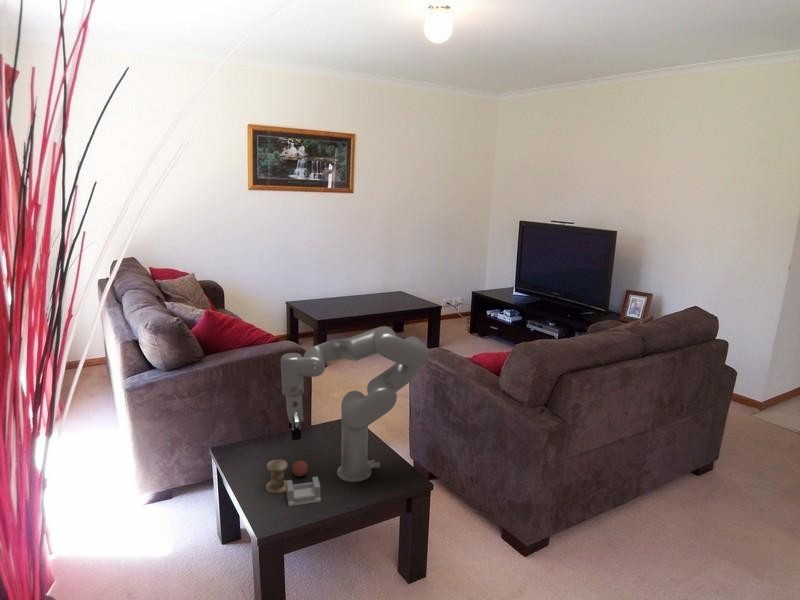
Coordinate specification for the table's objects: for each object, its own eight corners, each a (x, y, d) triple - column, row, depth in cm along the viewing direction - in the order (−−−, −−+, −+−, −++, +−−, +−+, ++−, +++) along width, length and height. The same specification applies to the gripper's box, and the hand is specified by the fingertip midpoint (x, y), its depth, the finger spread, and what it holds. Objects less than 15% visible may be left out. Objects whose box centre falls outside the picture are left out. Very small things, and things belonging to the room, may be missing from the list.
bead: (306, 470, 201) (306, 457, 200) (308, 478, 196) (308, 464, 195) (291, 472, 199) (291, 458, 198) (293, 480, 194) (293, 466, 193)
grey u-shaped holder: (317, 487, 190) (317, 475, 189) (320, 501, 182) (320, 488, 181) (286, 492, 187) (286, 478, 186) (288, 506, 179) (288, 492, 178)
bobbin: (288, 479, 194) (287, 457, 193) (290, 491, 187) (289, 468, 185) (265, 482, 192) (264, 460, 190) (266, 495, 185) (265, 471, 183)
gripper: (307, 396, 182) (309, 442, 186) (300, 378, 198) (302, 421, 202) (284, 399, 180) (286, 446, 184) (279, 380, 196) (282, 424, 200)
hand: (295, 433), depth 193 cm, fingers open, 9 cm apart
